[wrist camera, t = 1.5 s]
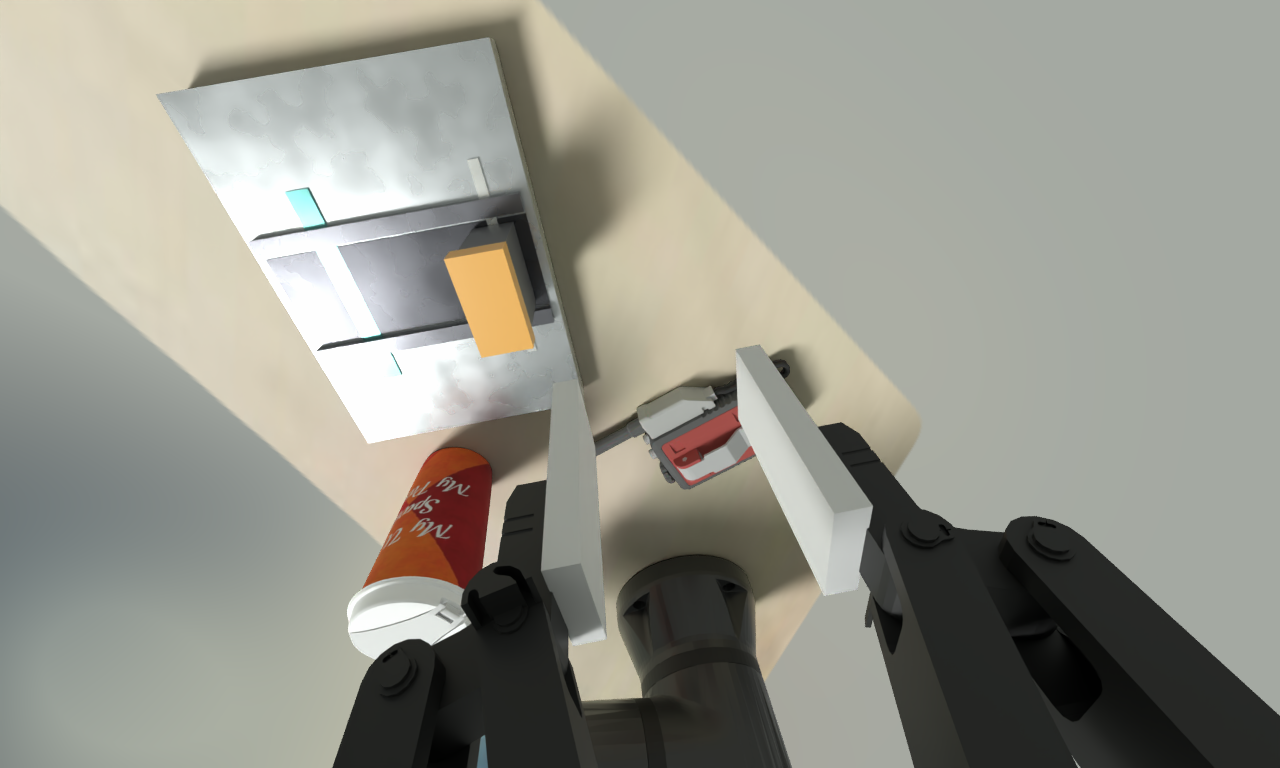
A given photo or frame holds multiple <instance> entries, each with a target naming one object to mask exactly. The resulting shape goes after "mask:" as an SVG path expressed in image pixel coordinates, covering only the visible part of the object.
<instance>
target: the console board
mask: <svg viewBox="0 0 1280 768" xmlns="http://www.w3.org/2000/svg"><path fill="white" fill-rule="evenodd" d="M156 95H157V97H158V99H159V100H160V102H161V104H162V105H163V107H164V109H165V110H166V112H167V113H168V115H169V117H170V118H171V120H172V122H173V123H174V125H175V127H176V128H177V130H178V132H179V133H180V135H181V136H182V138H183V140H184V141H185V143H186V145H187V146H188V148H189V150H190V151H191V153H192V154H193V156H194V158H195V159H196V161H197V163H198V164H199V166H200V168H201V169H202V171H203V173H204V174H205V176H206V177H207V179H208V181H209V182H210V184H211V186H212V187H213V189H214V191H215V192H216V194H217V195H218V197H219V199H220V200H221V202H222V204H223V205H224V207H225V209H226V210H227V212H228V214H229V215H230V217H231V218H232V220H233V222H234V223H235V225H236V227H237V228H238V230H239V232H240V233H241V235H242V236H243V238H244V240H245V241H246V243H247V245H248V246H249V248H250V250H251V251H252V253H253V255H254V256H255V258H256V259H257V261H258V263H259V264H260V266H261V268H262V269H263V271H264V273H265V274H266V276H267V278H268V279H269V281H270V282H271V284H272V286H273V287H274V289H275V291H276V292H277V294H278V296H279V297H280V299H281V300H282V302H283V304H284V305H285V307H286V309H287V310H288V312H289V314H290V315H291V317H292V319H293V320H294V322H295V323H296V325H297V327H298V328H299V330H300V332H301V333H302V335H303V337H304V338H305V340H306V341H307V343H308V345H309V346H310V348H311V350H312V351H313V353H314V355H315V356H316V358H317V360H318V361H319V363H320V364H321V366H322V368H323V369H324V371H325V373H326V374H327V376H328V378H329V379H330V381H331V382H332V384H333V386H334V387H335V389H336V391H337V392H338V394H339V396H340V397H341V399H342V401H343V402H344V404H345V405H346V407H347V409H348V410H349V412H350V414H351V415H352V417H353V419H354V420H355V422H356V424H357V425H358V427H359V428H360V430H361V432H362V433H363V435H364V437H365V438H366V440H367V442H368V443H373V442H378V441H384V440H389V439H394V438H399V437H405V436H410V435H415V434H421V433H426V432H431V431H437V430H442V429H447V428H453V427H458V426H463V425H468V424H474V423H479V422H484V421H490V420H495V419H500V418H506V417H511V416H516V415H521V414H527V413H532V412H537V411H543V410H548V409H551V407H552V392H553V383H558V382H563V381H569V380H574V379H578V382H579V386H580V390H581V394H582V398H583V401H584V387H583V383H582V379H581V375H580V371H579V368H578V364H577V360H576V356H575V352H574V348H573V344H572V340H571V336H570V332H569V328H568V324H567V321H566V317H565V313H564V309H563V305H562V301H561V297H560V293H559V289H558V285H557V281H556V277H555V274H554V270H553V266H552V262H551V258H550V254H549V250H548V246H547V242H546V238H545V234H544V230H543V227H542V223H541V219H540V215H539V211H538V207H537V203H536V199H535V195H534V191H533V187H532V184H531V180H530V176H529V172H528V168H527V164H526V160H525V156H524V152H523V148H522V144H521V140H520V137H519V133H518V129H517V125H516V121H515V117H514V113H513V109H512V105H511V101H510V97H509V93H508V90H507V86H506V82H505V78H504V74H503V70H502V66H501V62H500V58H499V54H498V50H497V47H496V43H495V40H494V39H492V38H490V37H487V38H482V39H476V40H470V41H464V42H458V43H453V44H447V45H441V46H435V47H429V48H423V49H418V50H412V51H406V52H400V53H394V54H389V55H383V56H377V57H371V58H365V59H360V60H354V61H348V62H342V63H336V64H330V65H325V66H319V67H313V68H307V69H301V70H296V71H290V72H284V73H278V74H272V75H267V76H261V77H255V78H249V79H243V80H237V81H232V82H226V83H220V84H214V85H208V86H203V87H197V88H191V89H185V90H179V91H174V92H168V93H162V94H156ZM507 222H514V226H515V229H516V232H517V236H518V239H519V243H520V246H521V250H522V253H523V257H524V260H525V264H526V267H527V271H528V274H529V278H530V281H531V285H532V288H533V292H534V295H535V299H536V306H535V312H534V318H533V324H532V329H533V332H534V336H535V343H534V348H532V349H527V350H521V351H516V352H511V353H505V354H500V355H495V356H489V357H484V358H481V355H480V352H479V350H478V347H477V345H476V342H475V339H474V337H473V334H472V332H471V329H470V326H469V324H468V321H467V319H466V316H465V313H464V311H463V308H462V306H461V303H460V300H459V298H458V295H457V293H456V290H455V287H454V285H453V282H452V280H451V277H450V274H449V272H448V269H447V267H446V264H445V261H444V258H445V257H446V256H447V254H448V253H449V252H450V251H455V250H458V249H459V248H460V246H461V245H462V243H463V242H464V240H465V239H466V237H467V236H468V234H469V233H470V231H471V230H472V229H474V228H480V227H485V226H491V225H496V224H502V223H507Z"/></svg>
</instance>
